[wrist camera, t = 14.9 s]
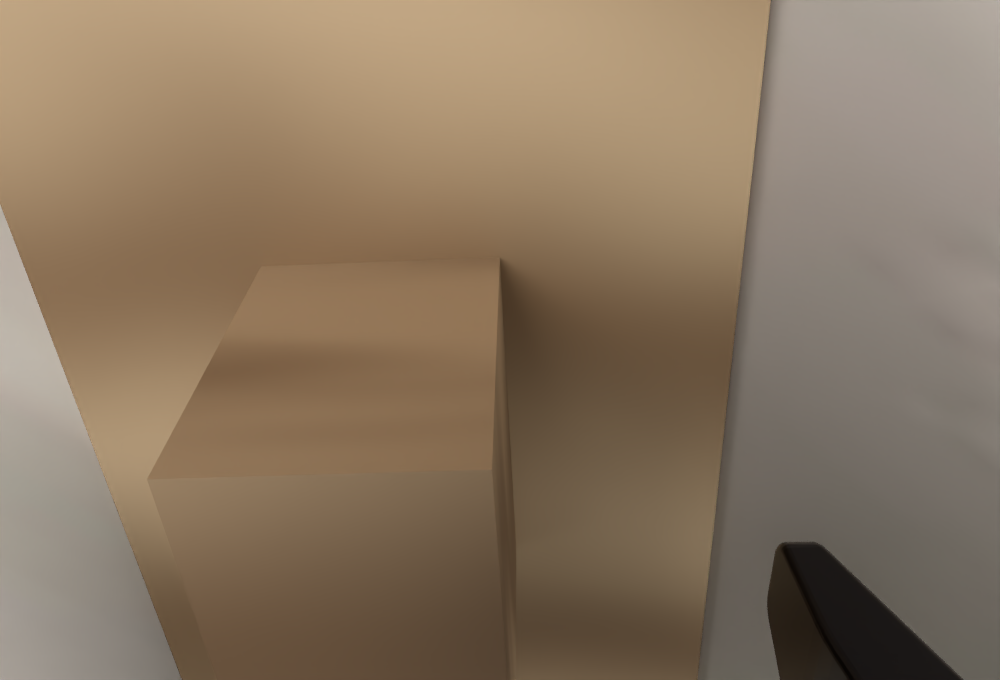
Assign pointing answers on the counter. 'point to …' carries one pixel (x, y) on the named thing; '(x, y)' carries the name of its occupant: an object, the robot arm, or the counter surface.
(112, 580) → the counter surface
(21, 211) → the lid
